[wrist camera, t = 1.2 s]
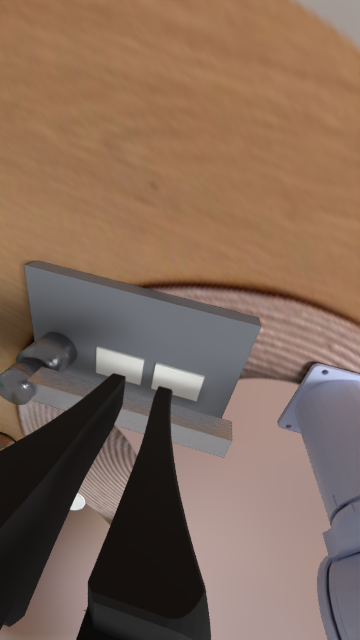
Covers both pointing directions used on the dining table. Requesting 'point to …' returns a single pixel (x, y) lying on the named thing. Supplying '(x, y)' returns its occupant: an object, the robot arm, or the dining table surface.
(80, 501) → the spoon
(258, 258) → the dining table surface
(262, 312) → the dining table surface
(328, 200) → the dining table surface
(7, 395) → the swing bar
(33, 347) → the grooved metal knob
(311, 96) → the dining table surface
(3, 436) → the sauce bottle
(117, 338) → the label panel
